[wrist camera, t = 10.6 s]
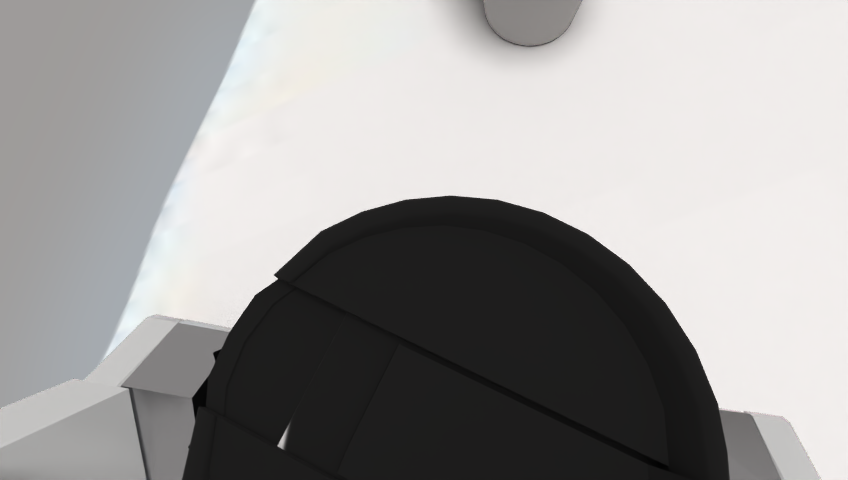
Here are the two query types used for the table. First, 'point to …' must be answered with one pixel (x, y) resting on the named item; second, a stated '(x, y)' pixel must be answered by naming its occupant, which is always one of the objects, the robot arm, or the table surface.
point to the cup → (530, 19)
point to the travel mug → (457, 360)
